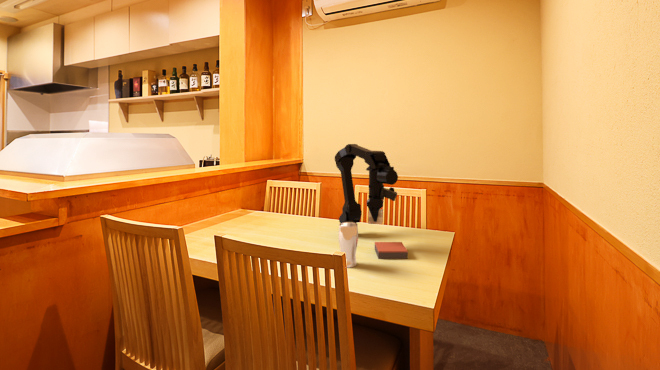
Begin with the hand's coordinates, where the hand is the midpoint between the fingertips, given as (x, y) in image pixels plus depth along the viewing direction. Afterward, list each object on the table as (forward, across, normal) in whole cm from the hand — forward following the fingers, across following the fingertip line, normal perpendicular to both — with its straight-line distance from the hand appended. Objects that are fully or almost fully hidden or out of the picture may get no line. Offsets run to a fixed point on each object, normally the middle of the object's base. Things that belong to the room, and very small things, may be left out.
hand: (375, 219), depth 136 cm
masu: (+1, 0, 0) cm, 1 cm away
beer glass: (+12, -20, +9) cm, 25 cm away
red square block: (+13, -6, -6) cm, 15 cm away
